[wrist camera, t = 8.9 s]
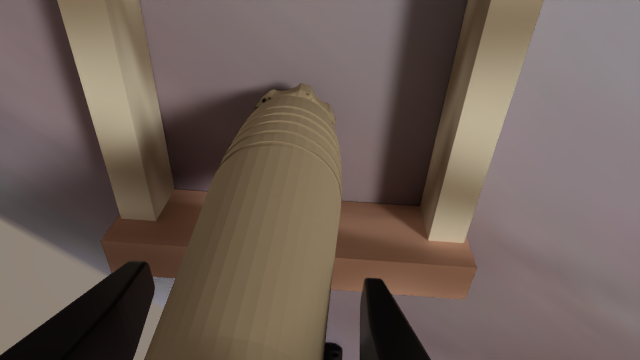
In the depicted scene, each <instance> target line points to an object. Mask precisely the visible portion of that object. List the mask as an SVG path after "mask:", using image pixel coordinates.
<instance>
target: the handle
mask: <svg viewBox="0 0 640 360" xmlns="http://www.w3.org/2000/svg"><path fill="white" fill-rule="evenodd" d="M335 124H336V122H335V116H334V112H333V110H332V107H331V105H330V104H328V103H324V102H323V101H321V100H320V99H319V98H318V97H317V96H316V95H315V94H314V92H313V89H312V87H311V86H309V85H306V84H302V83H301V84H299V85H298V86H297V87H295V88H292V89H289V90H284V91H277V90H273V89H272V90H270V91H269V92H268V93H266V94H265V95H264V96H263V97H262V98H261V99H260V101H259V102H258V104H257V105H256V107H255V111H254V112H253V113H252V114H251V115H250V116H249V118H248V119H247V120H246V121H245V123H244V124H243V126H242V127H241V129H240V130H239V132H238V133H237V135H236V137H235V138H234V140H233V141H232V143H231V145H230V146H229V148H228V150H227V152H226V154H225V155H224V157H223V159H222V161H221V164H220V165H219V167H218V169H217V171H216V174H215V175H214V177H213V180H212V182H211V185H210V188H209V190H208V193H207V196H206V198H205V201H204V204H203V207H202V209H201V212H200V215H199V217H198V220H197V223H196V225H195V228H194V231H193V233H192V236H191V239H190V242H189V244H188V247H187V250H186V252H185V255H184V258H183V260H182V263H181V266H180V268H179V271H178V273H177V276H176V279H175V281H174V284H173V286H172V289H171V291H170V294H169V297H168V299H167V302H166V304H165V307H164V310H163V312H162V315H161V317H160V320H159V323H158V325H157V328H156V330H155V333H154V335H153V338H152V341H151V343H150V346H149V348H148V351H147V354H146V356H145V359H144V360H323V358H324V349H325V339H326V330H327V320H328V311H329V302H330V292H331V284H332V275H333V267H334V259H335V251H336V243H337V235H338V227H339V219H340V211H341V196H342V188H341V187H342V172H341V160H340V150H339V144H338V139H337V135H336V131H335V128H334V126H335Z"/></svg>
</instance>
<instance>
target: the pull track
mask: <svg viewBox="0 0 640 360" xmlns="http://www.w3.org/2000/svg"><path fill="white" fill-rule="evenodd" d="M543 1H544V0H468V2H467V6H466V11H465V15H464V19H463V24H462V28H461V32H460V37H459V41H458V45H457V49H456V54H455V58H454V62H453V67H452V71H451V75H450V80H449V84H448V88H447V92H446V97H445V101H444V105H443V110H442V114H441V118H440V123H439V127H438V131H437V136H436V140H435V144H434V148H433V153H432V157H431V161H430V166H429V170H428V174H427V179H426V183H425V187H424V192H423V196H422V200H421V204H420V206H407V205H393V204H379V203H364V202H350V201H341V211H340V219H339V227H338V235H337V243H336V251H335V259H334V267H333V275H332V284H331V290H344V291H358V292H362V290H363V283H364V279H365V278H380V279H382V280H383V281H384V283H385V284H386V286H387V288H388V289H389V291H390V293H391V294H399V295H412V296H426V297H440V298H453V299H466V296H467V294H468V291H469V288H470V285H471V283H472V280H473V277H474V275H475V272H476V269H477V266H476V264H475V261H474V258H473V255H472V252H471V250H470V247H469V244H468V241H467V238H466V235H467V232H468V229H469V226H470V223H471V220H472V217H473V214H474V211H475V208H476V205H477V201H478V198H479V195H480V192H481V189H482V186H483V183H484V180H485V177H486V174H487V171H488V168H489V165H490V162H491V159H492V156H493V153H494V150H495V147H496V144H497V141H498V138H499V135H500V132H501V129H502V126H503V122H504V119H505V116H506V113H507V110H508V107H509V104H510V101H511V98H512V95H513V92H514V89H515V86H516V83H517V80H518V77H519V74H520V71H521V68H522V65H523V62H524V59H525V56H526V53H527V50H528V47H529V44H530V40H531V37H532V34H533V31H534V28H535V25H536V22H537V19H538V16H539V13H540V10H541V7H542V4H543ZM57 2H58V5H59V8H60V12H61V15H62V19H63V22H64V25H65V29H66V32H67V36H68V39H69V43H70V46H71V49H72V53H73V56H74V60H75V63H76V66H77V70H78V73H79V77H80V80H81V83H82V87H83V90H84V94H85V97H86V100H87V104H88V107H89V111H90V114H91V118H92V121H93V124H94V128H95V131H96V135H97V138H98V141H99V145H100V148H101V152H102V155H103V158H104V162H105V165H106V169H107V172H108V176H109V179H110V182H111V186H112V189H113V193H114V196H115V199H116V203H117V206H118V210H119V213H120V215H119V216H118V217H117V219H116V220H115V222H114V223H113V224H112V226H111V227H110V228H109V230H108V231H107V233H106V234H105V235H104V237H103V238H102V240H101V243H102V246H103V249H104V252H105V255H106V258H107V261H108V264H109V267H110V270H111V273H113V272H114V271H116V270H117V269H118V268H120V267H121V266H123V265H124V264H125V263H127V262H129V261H132V260H134V261H145V262H147V263H148V264H149V266H150V269H151V273H152V276H154V277H167V278H176V276H177V273H178V271H179V268H180V266H181V263H182V260H183V258H184V255H185V252H186V250H187V247H188V244H189V242H190V239H191V236H192V233H193V231H194V228H195V225H196V223H197V220H198V217H199V215H200V212H201V209H202V207H203V204H204V201H205V198H206V196H207V193H208V192H206V191H191V190H177V189H175V188H174V183H173V178H172V172H171V167H170V162H169V156H168V151H167V146H166V140H165V135H164V130H163V124H162V119H161V114H160V109H159V103H158V98H157V93H156V87H155V82H154V77H153V71H152V66H151V61H150V55H149V50H148V45H147V39H146V34H145V29H144V24H143V18H142V13H141V8H140V2H139V0H57Z"/></svg>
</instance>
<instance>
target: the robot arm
mask: <svg viewBox="0 0 640 360" xmlns="http://www.w3.org/2000/svg"><path fill="white" fill-rule="evenodd" d="M154 291H155V285H154V281H153V277H152V273H151V269H150V266H149V264H148V263H147V262H145V261H134V260H132V261H129V262H127V263H125V264H124V265H123V266H121V267H120V268H118V269H117V270H116V271H114V272H113V273H112V274H110V275H109V276H108V277H106V278H105V279H103V280H102V281H101V282H99V283H98V284H97V285H95V286H94V287H93V288H91V289H90V290H89V291H87V292H86V293H84V294H83V295H82V296H80V297H79V298H78V299H76V300H75V301H74V302H72V303H71V304H69V305H68V306H67V307H65V308H64V309H63V310H61V311H60V312H59V313H57V314H56V315H55V316H53V317H52V318H50V319H49V320H48V321H46V322H45V323H44V324H42V325H41V326H39V327H38V328H37V329H35V330H34V331H33V332H31V333H30V334H29V335H27V336H26V337H25V338H23V339H22V340H20V341H19V342H18V343H16V344H15V345H14V346H12V347H11V348H9V349H8V350H7V351H5V352H4V353H3V354H1V355H0V360H133V358H134V355H135V352H136V350H137V347H138V343H139V340H140V337H141V334H142V331H143V327H144V324H145V321H146V318H147V315H148V312H149V308H150V305H151V302H152V299H153V296H154ZM323 360H342V348H341V347H340V346H337V345H327V344H325V349H324V358H323ZM360 360H431V359H430V357H429V356H428V354H427V352H426V351H425V349H424V347H423V346H422V344H421V342H420V341H419V339H418V337H417V336H416V334H415V332H414V331H413V329H412V327H411V326H410V324H409V322H408V321H407V319H406V317H405V316H404V314H403V312H402V311H401V309H400V308H399V306H398V304H397V303H396V301H395V299H394V298H393V296H392V294H391V293H390V291H389V289H388V288H387V286H386V284H385V283H384V281H383V280H382V279H380V278H365V279H364V283H363V290H362V296H361V303H360Z"/></svg>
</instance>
